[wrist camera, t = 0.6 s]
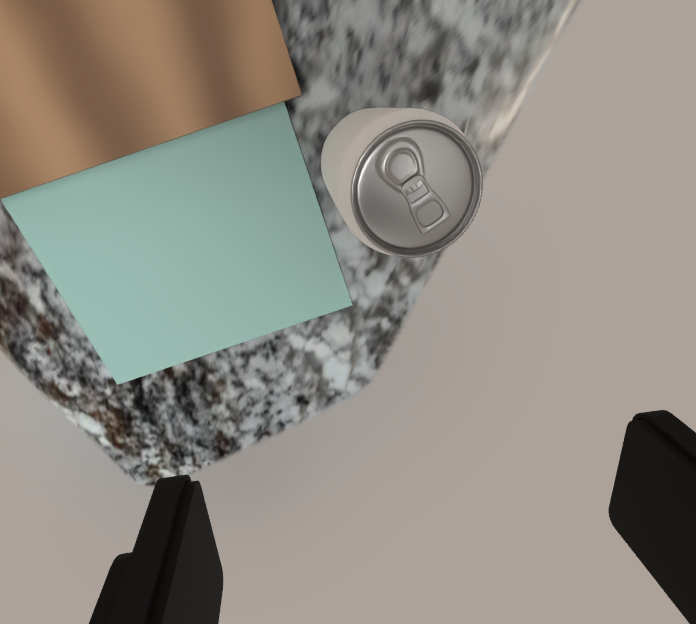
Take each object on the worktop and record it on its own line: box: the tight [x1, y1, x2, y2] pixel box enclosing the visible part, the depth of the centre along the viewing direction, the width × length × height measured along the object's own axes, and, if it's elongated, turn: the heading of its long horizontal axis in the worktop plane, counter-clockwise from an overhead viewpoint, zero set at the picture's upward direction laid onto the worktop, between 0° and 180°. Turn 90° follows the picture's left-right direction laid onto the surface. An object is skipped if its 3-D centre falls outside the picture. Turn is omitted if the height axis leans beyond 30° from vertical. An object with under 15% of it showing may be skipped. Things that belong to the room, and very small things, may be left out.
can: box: [321, 108, 483, 258], centre depth 25 cm, size 6×6×12 cm
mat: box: [1, 102, 352, 385], centre depth 31 cm, size 18×14×1 cm
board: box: [0, 0, 302, 199], centre depth 24 cm, size 20×12×4 cm, turn 107°
